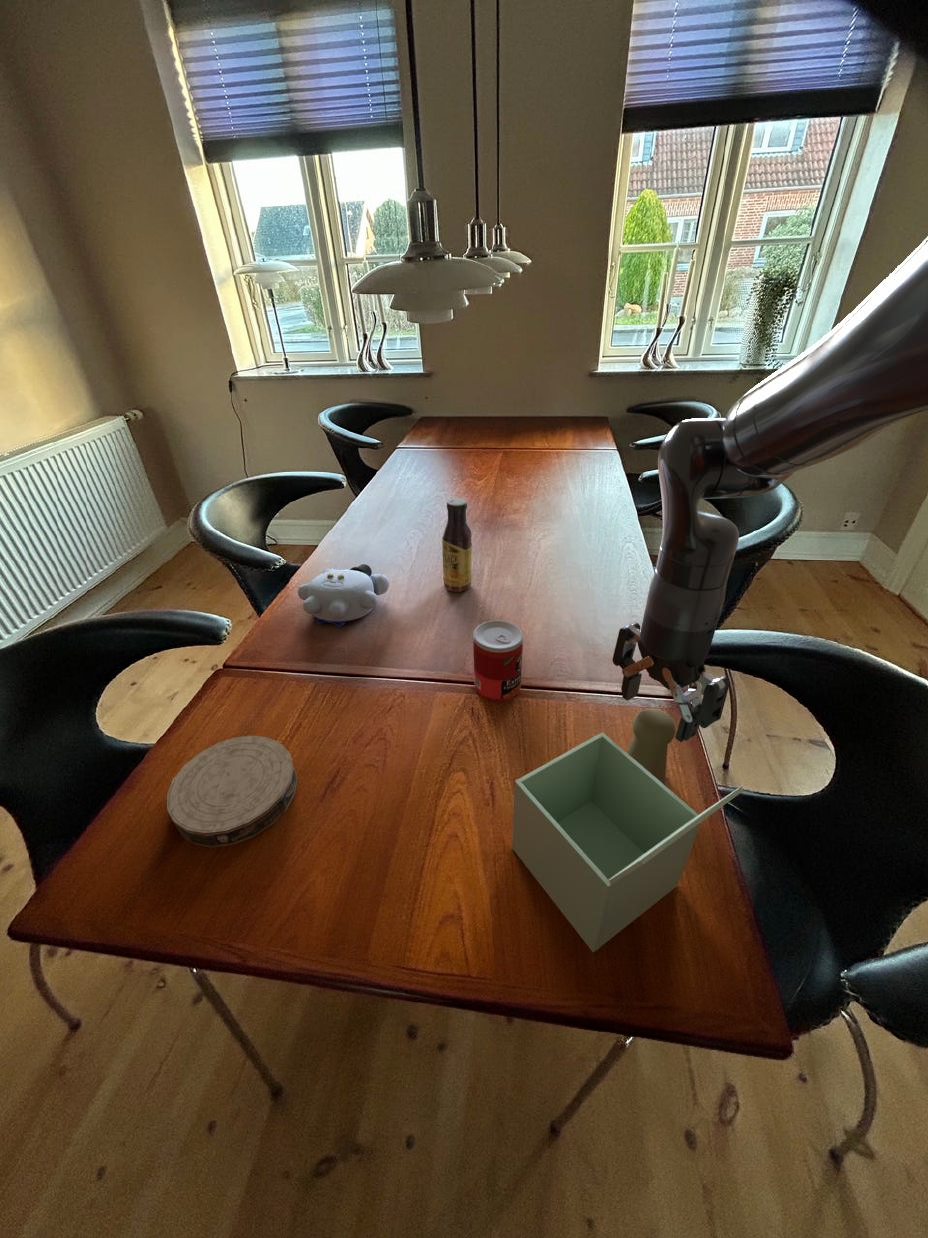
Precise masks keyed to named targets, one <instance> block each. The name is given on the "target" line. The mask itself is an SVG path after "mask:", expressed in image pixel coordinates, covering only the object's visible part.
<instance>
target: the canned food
mask: <svg viewBox="0 0 928 1238" xmlns="http://www.w3.org/2000/svg"><path fill="white" fill-rule="evenodd" d="M523 652H524V634H523V631H522V630H521V628H520V627H518V626H517V625H515V624H514V623H511V622H509V621H505V620H489V621H485V622H482V623H480V624H478V626H476V627H475V628H474V630H473V635H472V656H473V683H474V688H475V690H476V692H477V693H478V695H479V696H480V697H482V698H484V699H486V700H487V701H491V702H497V703H498V702H499V703H501V702H508V701H510V700H512V699H515V697H517V695H518V694H519V692H520V691H521V688H522V676H523V675H522V674H523V654H524V653H523Z"/></svg>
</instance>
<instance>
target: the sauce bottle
mask: <svg viewBox="0 0 928 1238" xmlns="http://www.w3.org/2000/svg"><path fill="white" fill-rule="evenodd" d="M467 509H468V501H467V500H466V499H464V498H461V497H452V498H450V499H448V500H447V501H446V510H447V521H446V525H445V528H444V531H443V535H442V538H441V543H442V544H441V548H442V549H441V550H442V580H443V585H444V587H445V589H446V590H447V591H451V592H454V593H460V592H464V591H467V590H468V589H469V588H470V587H471V585H472V576H473V574H472V572H473V571H472V570H473V569H472V566H473V565H472V563H473V543H472V530H471V528H470V526H469V525H468V523H467Z"/></svg>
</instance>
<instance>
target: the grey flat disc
mask: <svg viewBox="0 0 928 1238" xmlns="http://www.w3.org/2000/svg"><path fill="white" fill-rule="evenodd" d="M297 785H298V778H297V773H296V769H295V766H294V762H293V760H292V755H291V753H290V752H289V750H288V749H287V748H286V746H284V744H282V742H279V741H278V740H275V739H273V738H271V737H269V736H261V735H243V736H235V737H232V738H229V739H225V740H223V741H219V742H216V743H215V744H213V745H211V746H209V747H207V748H205V749H203V750H201V751H200V752H199V753H197V754H196V755H194V757H192V758H191V759H190V760H188V761H187V762H186V763H185V764H183V766H182V767H181V769H180V770H179V771H178V772H177V773H176V775H175V776H174V777H173V779H172V781H171V784H170V785H169V788H168V791H167V793H166V811H167V812H168V814H169V816H170V817H171V820H172V822H173V823H174V825H175V827H176V828H177V831H178V832H179V834H180V836H181V837H182V838H184V839H185V840H187V841H188V842H190V843H191V844H193V845H195V846H201V847H206V848H221V847H229V846H234V845H237V844H239V843H242V842H244V841H248V840H251V839H253V838H255V837H256V836H258V835H259V834H261V833H263V832H265V830H267V829H269V828H270V827H272V826H273V825H274V824H275V823H276V822H278V820H279V818H280V817H282V815H284V813H285V812H286V811H287V810H288V808H289V806H290V804H291V802H292V800H293V799H294V797H295V795H296V789H297Z"/></svg>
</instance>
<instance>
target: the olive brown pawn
mask: <svg viewBox="0 0 928 1238" xmlns="http://www.w3.org/2000/svg"><path fill="white" fill-rule="evenodd" d="M632 732H633V736H632V739H631V741H630V743H629V745H628V748H627V751H626V753H627V754H629V755H630V756H631V757H632V758H633V759H634V760H636V761H637V762H638V763H639V764H640V765H641V766H643V767H644V768H645V769H646V770H647V771H648V772H650V773H651V774H652V775H653V776H654V777H655V778H657V779H658V780H659V781H660V782H661V783H662V784H664V785H665V784H666V772H667V759H668V746H669V744H670V743H671V742H672V741H673V740H674V737H676V724H675V722H674V719H673V718H672V716H671V715H670V714H669V713H667V712H665V711H664V710H661V709H658V708H653V707H652V708H651V707H649V708H644V709H642V710H640V711H639V712H638V713H637V714H636V715H635V717H634V718H633V720H632Z"/></svg>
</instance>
